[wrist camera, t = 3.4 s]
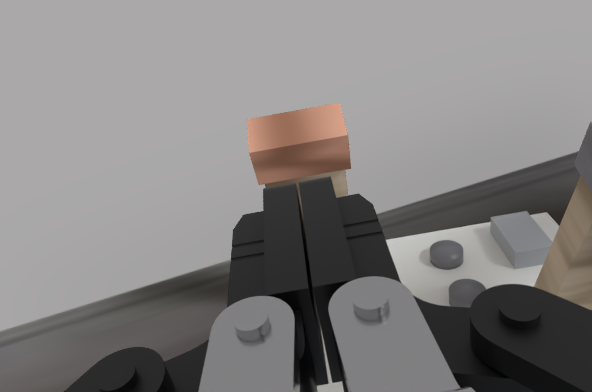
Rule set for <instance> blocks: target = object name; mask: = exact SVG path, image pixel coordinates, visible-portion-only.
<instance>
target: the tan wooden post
mask: <svg viewBox="0 0 592 392" xmlns="http://www.w3.org/2000/svg"><path fill="white" fill-rule="evenodd" d="M574 165H575V167H576V168H577V170H578V172H579V173H580V175H581V176H580V179H579V181H578V184H577V186H576V188H575V191H574V193H573V195H572V198H571V200H570V202H569V205H568V207H567V209H566V212H565V214H564V217H563V219H562V221H561V224H560V226H559V228H558V231H557V233H556V235H555V238H554V240H553V242H552V245H551V247H550V250H549V252H548V254H547V257H546V259H545V261H544V264H543V266H542V268H541V271H540V273H539V275H538V278H537V280H536V283H535V285H534V287H536V288H539V289H542V290H544V291H547V292H549V293H551V294H554V295H556V296H559V297H561V298H563V299H566V300H568V301H571V302H573V303H575V304H578V305H580V306H582V307H585V308H587V309H590V310H592V122H591V123H590V125H589V127H588V130H587V132H586V135H585V137H584V140H583V142H582V145H581V147H580V150H579V152H578V155H577V157H576V160H575V162H574Z"/></svg>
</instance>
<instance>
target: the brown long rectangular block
mask: <svg viewBox="0 0 592 392" xmlns="http://www.w3.org/2000/svg"><path fill="white" fill-rule="evenodd" d="M247 130H248V143H249V154H250V157H251V160H252V164H253V167H254V170H255V173H256V177H257V180H258V184H259V185H262V184H265V186H266V188H269V187H275V186H280V185H286V184H291V183H296V186H297V190H298V195H299V200H300V205H301V210H302V204H301V197H300V190H299V182H301V181H307V180H312V179H318V178H323V177H329V176H331V179H332V183H333V187H334V191H335V195H336V198H338V197H343V196H348V192H347V191H348V190H347V181H346V171H345V170H346V169H351V164H350V152H349V142H348V133H347V129H346V125H345V121H344V117H343V113H342V109H341V105H340V103H334V104H329V105H323V106H318V107H312V108H308V109H302V110H296V111H291V112H285V113H280V114H274V115H269V116H263V117H258V118H252V119H247ZM302 215H303V212H302ZM303 220H304V219H303Z"/></svg>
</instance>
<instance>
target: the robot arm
mask: <svg viewBox="0 0 592 392" xmlns="http://www.w3.org/2000/svg"><path fill="white" fill-rule="evenodd" d="M299 190H300V197H301V204H302V210H301V205H300V200H299V195H298V190H297V186H296V183H291V184H286V185H280V186H275V187H269V188H264V189H263V203H264V204H263V206H264V211H261V212H256V213H251V214H245V215H243V216H242V218H241V219H240V221H239V222H238V224H237V225H236V227H235V228H234V230H233V240H232V252H231V265H230V278H229V291H228V304H227V308H226V309H225V310H224V311H223V312H222V313H221V314H220V315H219V316H218V317H217V318H216V320H215V322H214V324H213V326H212V329H211V333H210V338H209V339H208V340H207V341H206V342H205V343H203V344H202V345H200V346H198V347H197V348H195V349H193V350H191V351H188V352H186V353H184V354H181V355H179V356H177V357H175V358H172V359H170V360H168V361H165V362H164V361H163V359H162V357H161V356H160V355H159V354H158V353H157V352H155V351H154V350H151V349H149V348H143V347H133V348H127V349H123V350H120V351H117V352H115V353H112V354H110V355H108V356H106V357H105V358H103V359H102V360H100V361H99V362H97V363H96V364H95V365H94V366H92V367H91V368H90V369H89V370H88V371H87V372H86V373H85V374H83V375H82V376H81V377H80V378H79V379H78V380H77V381H76V382H74V383H73V384H72V385H71V386H70V387H69V388H68V389H67V390H65V391H64V392H318V391H317V386H319V385H325V384H329V382H328V375H327V368H326V361H325V354H324V347H323V340H324V345H325V349H326V354H327V359H328V364H329V369H330V374H331V379H332V383H335V382H341V381H342V385H343V390H344V392H592V310H590V309H587V308H585V307H582V306H580V305H578V304H575V303H573V302H571V301H568V300H566V299H563V298H561V297H559V296H556V295H554V294H551V293H549V292H547V291H544V290H542V289H539V288H536V287H532V286H528V285H521V284H504V285H498V286H494V287H491V288H488V289H486V290H485V291H483V292H481V293H480V294H479V295H478V296H477V297H476V298H475V299H474V300H473V302H472V304H471V308H467V307H453V306H442V305H436V304H432V303H429V302H426V301H423V300H421V299H419V298H417V297H415V296H414V295H412V293H411V292H410V290H409V289H408V288H407V287H406V286H404V285H403V284H402V283H401V281H400V278H399V276H398V273H397V270H396V267H395V264H394V262H393V259H392V256H391V253H390V251H389V248H388V245H387V242H386V240H385V237H384V234H383V232H382V229H381V226H380V223H379V222H378V218H377V215H376V212H375V209H374V207H373V204H371V203H370V202H369V201H367V200H366V199H365V198H364V197H362V196H361V195H360V194H354V195H349V196H343V197H338V198H336V195H335V191H334V187H333V183H332V179H331V176H329V177H323V178H318V179H312V180H307V181H301V182H299ZM302 212H303V215H302ZM303 219H304V220H303ZM321 330H322V332H321ZM322 335H323V339H322Z"/></svg>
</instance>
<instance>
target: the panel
mask: <svg viewBox="0 0 592 392" xmlns="http://www.w3.org/2000/svg"><path fill="white" fill-rule="evenodd" d="M558 228H559V225H558V224H557V223H556V222H555V221H554V220H553V219H552V217H551V216H550V215H549V214H548V213H547V212H545V213H540V214H534V215H530V214H529V213H528V212H527V211H523V212H518V213H512V214H506V215H500V216H494V217H491V222H487V223H482V224H476V225H470V226H464V227H458V228H453V229H447V230H441V231H435V232H429V233H424V234H418V235H412V236H406V237H400V238H394V239H389V240H386V242H387V245H388V248H389V251H390V253H391V256H392V259H393V262H394V264H395V267H396V270H397V273H398V276H399V278H400V281H401V283H402V284H403V285H404V286H406V287H407V288H408V289H409V290H410V292H411V293H412V295H414V296H415V297H417V298H419V299H421V300H423V301H426V302H429V303H432V304H436V305H442V306H453V307H467V308H471V304H472V302H473V300H474V299H475V298H476V297H477V296H478V295H479V294H480V293H481V292H483V291H485V290H486V289H488V288H491V287H494V286H498V285H504V284H521V285H528V286H532V287H534V285H535V283H536V280H537V278H538V275H539V273H540V271H541V268H542V266H543V264H544V261H545V259H546V257H547V254H548V252H549V250H550V247H551V245H552V242H553V240H554V238H555V235H556V233H557V231H558ZM321 332H322V330H321ZM322 339H323V335H322ZM323 347H324V354H325V361H326V368H327V375H328V382H329V384H325V385H319V386H317V391H318V392H344V390H343V385H342V381H341V382H335V383H332V379H331V374H330V369H329V364H328V359H327V354H326V349H325V345H324V340H323Z"/></svg>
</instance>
